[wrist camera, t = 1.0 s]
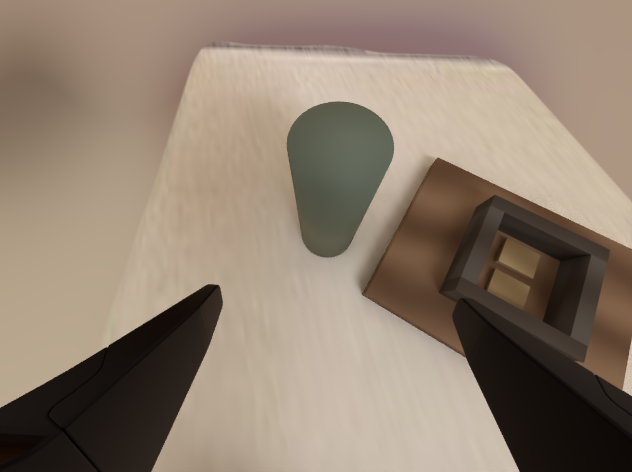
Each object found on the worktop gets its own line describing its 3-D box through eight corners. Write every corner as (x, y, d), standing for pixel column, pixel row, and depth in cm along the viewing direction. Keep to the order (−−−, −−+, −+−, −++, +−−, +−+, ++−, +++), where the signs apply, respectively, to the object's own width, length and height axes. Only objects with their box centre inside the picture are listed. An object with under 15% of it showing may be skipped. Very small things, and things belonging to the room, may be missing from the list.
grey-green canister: (360, 246, 23) (413, 168, 11) (313, 265, 22) (310, 206, 10) (339, 202, 24) (365, 90, 12) (294, 219, 24) (272, 119, 12)
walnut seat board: (589, 432, 18) (661, 463, 15) (362, 294, 22) (372, 291, 18) (625, 259, 23) (688, 249, 19) (431, 165, 26) (450, 140, 22)
